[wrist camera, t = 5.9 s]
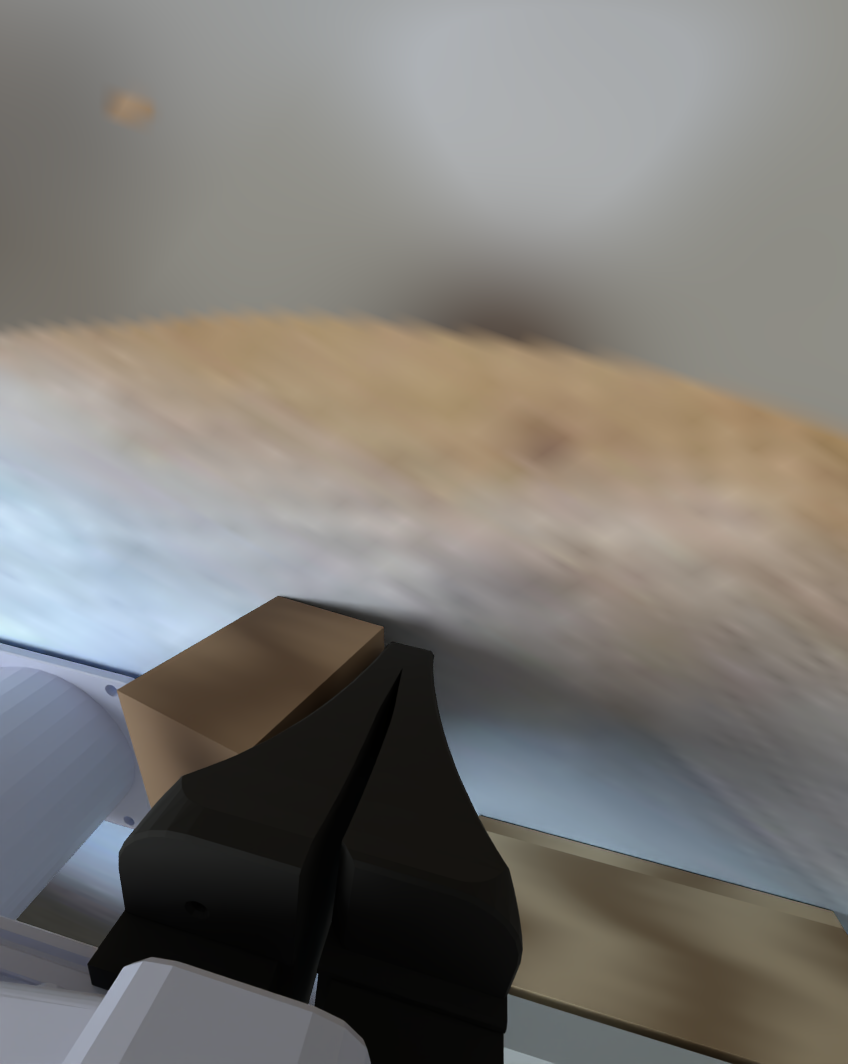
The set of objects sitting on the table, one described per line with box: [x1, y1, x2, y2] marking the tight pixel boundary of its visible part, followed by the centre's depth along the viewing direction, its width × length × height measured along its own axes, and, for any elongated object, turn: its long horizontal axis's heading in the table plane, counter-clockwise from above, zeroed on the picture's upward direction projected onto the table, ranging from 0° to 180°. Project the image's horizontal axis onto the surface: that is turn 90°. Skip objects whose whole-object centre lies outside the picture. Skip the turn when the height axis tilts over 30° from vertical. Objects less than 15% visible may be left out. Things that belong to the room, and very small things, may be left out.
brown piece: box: [479, 815, 848, 1064], centre depth 16 cm, size 12×14×4 cm
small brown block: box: [117, 596, 385, 808], centre depth 12 cm, size 4×4×5 cm
